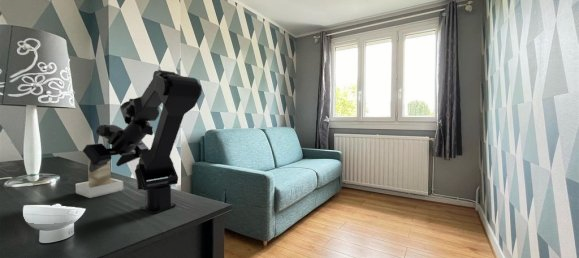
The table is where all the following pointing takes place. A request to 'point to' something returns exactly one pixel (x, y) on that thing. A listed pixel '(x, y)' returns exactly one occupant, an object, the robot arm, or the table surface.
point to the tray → (98, 188)
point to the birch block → (99, 176)
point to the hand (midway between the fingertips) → (104, 168)
